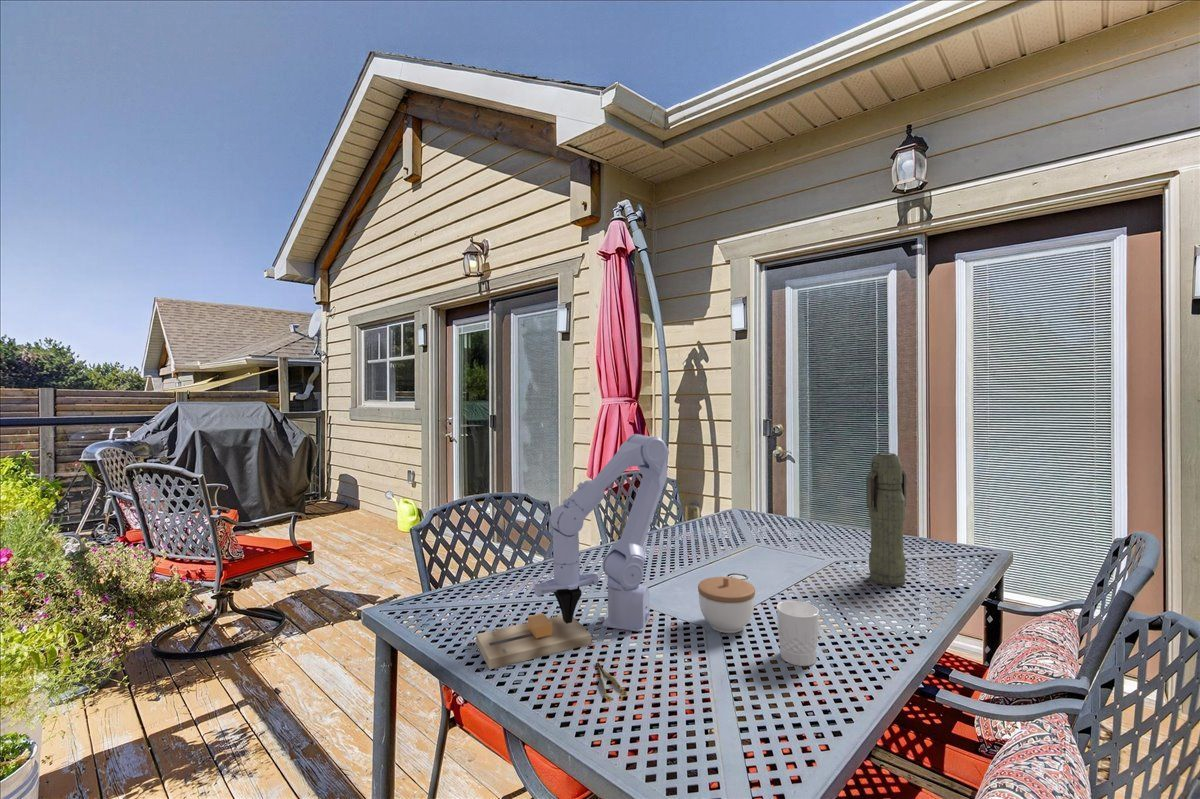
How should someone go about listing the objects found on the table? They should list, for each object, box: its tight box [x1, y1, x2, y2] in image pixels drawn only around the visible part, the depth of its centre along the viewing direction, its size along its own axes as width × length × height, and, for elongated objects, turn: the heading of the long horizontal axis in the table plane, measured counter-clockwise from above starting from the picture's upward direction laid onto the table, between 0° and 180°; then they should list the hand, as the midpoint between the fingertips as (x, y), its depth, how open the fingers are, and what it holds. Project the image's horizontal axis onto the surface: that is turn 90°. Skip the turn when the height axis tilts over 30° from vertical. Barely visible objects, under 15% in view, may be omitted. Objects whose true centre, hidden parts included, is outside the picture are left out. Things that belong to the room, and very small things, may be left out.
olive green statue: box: [865, 452, 907, 587], centre depth 145 cm, size 9×12×35 cm
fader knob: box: [527, 612, 552, 638], centre depth 114 cm, size 4×6×2 cm, turn 25°
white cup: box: [776, 600, 820, 667], centre depth 105 cm, size 8×8×10 cm
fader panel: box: [475, 614, 592, 670], centre depth 113 cm, size 22×12×2 cm, turn 115°
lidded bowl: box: [697, 576, 756, 634], centre depth 120 cm, size 13×13×11 cm
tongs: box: [595, 662, 628, 701], centre depth 98 cm, size 4×13×2 cm, turn 22°
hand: (567, 621), depth 117 cm, fingers closed
